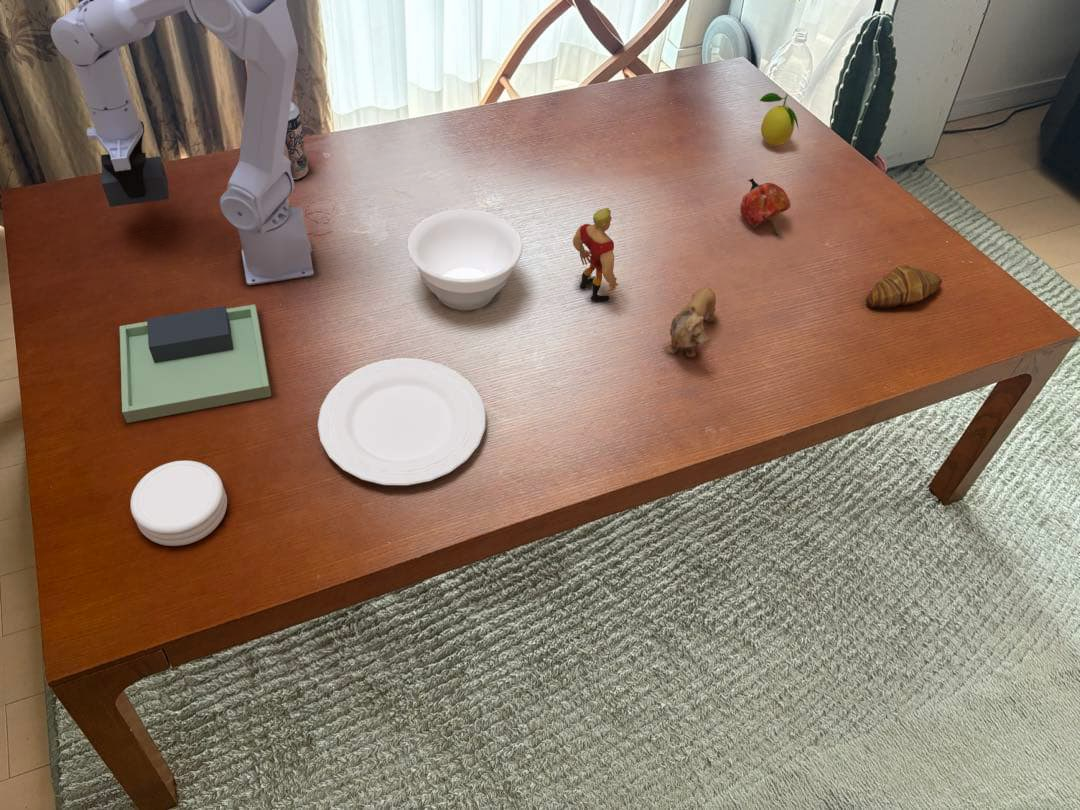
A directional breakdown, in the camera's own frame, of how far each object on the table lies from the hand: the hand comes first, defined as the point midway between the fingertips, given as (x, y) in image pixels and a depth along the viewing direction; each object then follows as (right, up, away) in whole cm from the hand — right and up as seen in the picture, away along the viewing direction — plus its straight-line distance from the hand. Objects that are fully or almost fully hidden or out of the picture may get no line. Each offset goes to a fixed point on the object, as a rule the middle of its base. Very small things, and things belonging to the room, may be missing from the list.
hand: (136, 184), depth 133 cm
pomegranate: (+93, -3, +16) cm, 95 cm away
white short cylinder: (+17, -44, -26) cm, 54 cm away
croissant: (+112, -15, +6) cm, 113 cm away
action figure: (+66, -15, +3) cm, 67 cm away
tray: (+13, -26, -11) cm, 31 cm away
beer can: (+18, +6, +18) cm, 26 cm away
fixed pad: (+11, -23, -9) cm, 27 cm away
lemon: (+99, +14, +31) cm, 105 cm away
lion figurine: (+79, -23, -3) cm, 82 cm away
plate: (+41, -34, -16) cm, 56 cm away
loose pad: (0, -1, +1) cm, 1 cm away
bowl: (+47, -15, +2) cm, 49 cm away
